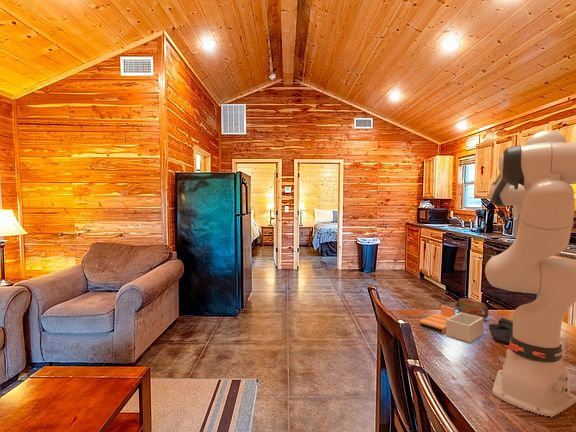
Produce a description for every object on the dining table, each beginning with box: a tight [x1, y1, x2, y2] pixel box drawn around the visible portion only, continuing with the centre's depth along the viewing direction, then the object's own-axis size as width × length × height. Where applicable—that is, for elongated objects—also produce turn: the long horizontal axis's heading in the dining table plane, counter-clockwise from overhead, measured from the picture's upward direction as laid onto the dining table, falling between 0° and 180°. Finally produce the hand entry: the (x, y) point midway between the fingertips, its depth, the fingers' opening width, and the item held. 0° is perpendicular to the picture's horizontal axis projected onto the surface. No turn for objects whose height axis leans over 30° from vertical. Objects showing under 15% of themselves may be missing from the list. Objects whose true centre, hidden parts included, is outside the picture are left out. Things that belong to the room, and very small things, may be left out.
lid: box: [418, 305, 456, 333], centre depth 141 cm, size 17×11×6 cm, turn 129°
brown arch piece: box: [456, 297, 489, 320], centre depth 153 cm, size 15×3×8 cm, turn 25°
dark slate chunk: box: [488, 317, 513, 345], centre depth 130 cm, size 15×22×5 cm
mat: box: [421, 324, 446, 336], centre depth 141 cm, size 16×12×1 cm
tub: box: [445, 312, 485, 344], centre depth 131 cm, size 14×9×7 cm, turn 129°
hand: (526, 248), depth 126 cm, fingers open, 8 cm apart
